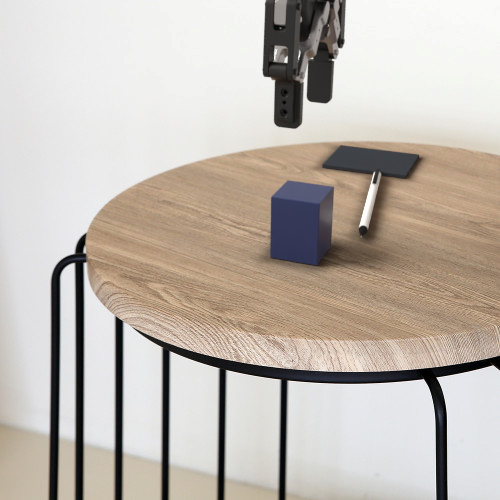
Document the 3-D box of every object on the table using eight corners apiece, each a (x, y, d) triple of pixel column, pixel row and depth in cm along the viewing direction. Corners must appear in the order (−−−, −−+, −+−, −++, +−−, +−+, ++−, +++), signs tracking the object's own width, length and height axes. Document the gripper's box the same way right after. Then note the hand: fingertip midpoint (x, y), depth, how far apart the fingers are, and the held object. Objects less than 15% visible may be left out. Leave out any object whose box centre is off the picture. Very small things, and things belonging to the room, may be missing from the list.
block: (331, 246, 75) (334, 186, 72) (317, 266, 71) (319, 203, 69) (286, 238, 77) (287, 179, 74) (269, 257, 73) (270, 196, 70)
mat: (419, 157, 98) (419, 154, 98) (405, 178, 92) (405, 175, 91) (340, 148, 102) (340, 144, 101) (322, 167, 95) (322, 164, 95)
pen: (381, 174, 92) (382, 165, 92) (365, 241, 76) (366, 230, 75) (374, 173, 93) (374, 164, 92) (356, 240, 76) (357, 230, 75)
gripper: (333, -87, 54) (321, 142, 61) (382, -94, 66) (367, 98, 73) (231, -90, 57) (231, 131, 64) (296, -97, 69) (290, 90, 76)
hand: (304, 113), depth 68 cm, fingers open, 8 cm apart
